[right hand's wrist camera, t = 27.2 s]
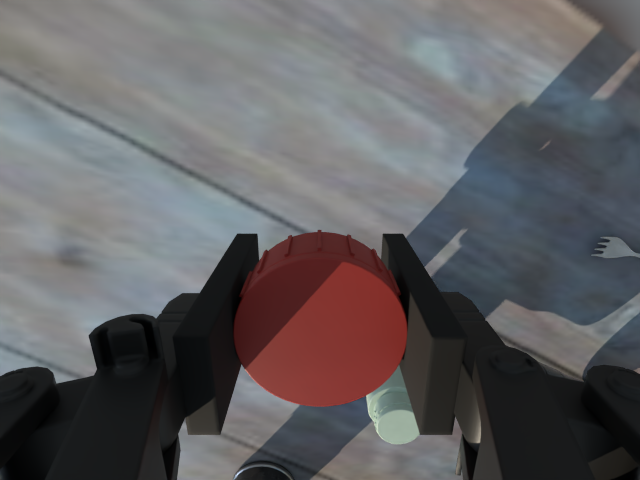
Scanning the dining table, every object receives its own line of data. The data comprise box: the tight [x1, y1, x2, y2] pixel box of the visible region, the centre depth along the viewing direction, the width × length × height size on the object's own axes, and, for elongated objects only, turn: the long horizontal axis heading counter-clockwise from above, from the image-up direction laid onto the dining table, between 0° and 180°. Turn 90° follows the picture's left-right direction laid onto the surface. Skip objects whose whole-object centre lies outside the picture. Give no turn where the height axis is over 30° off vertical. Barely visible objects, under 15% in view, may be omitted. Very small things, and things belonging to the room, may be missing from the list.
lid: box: [233, 230, 408, 406], centre depth 11 cm, size 5×5×2 cm
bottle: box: [366, 365, 420, 444], centre depth 36 cm, size 4×4×19 cm
